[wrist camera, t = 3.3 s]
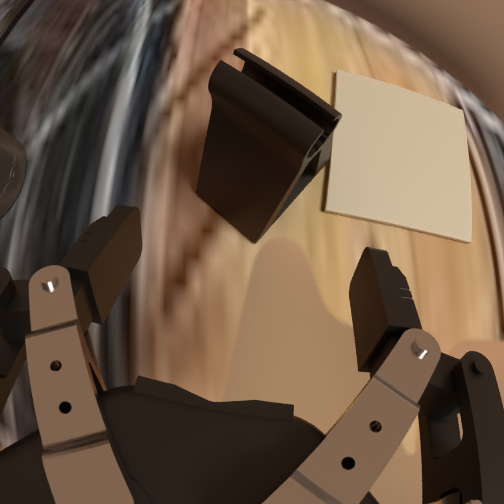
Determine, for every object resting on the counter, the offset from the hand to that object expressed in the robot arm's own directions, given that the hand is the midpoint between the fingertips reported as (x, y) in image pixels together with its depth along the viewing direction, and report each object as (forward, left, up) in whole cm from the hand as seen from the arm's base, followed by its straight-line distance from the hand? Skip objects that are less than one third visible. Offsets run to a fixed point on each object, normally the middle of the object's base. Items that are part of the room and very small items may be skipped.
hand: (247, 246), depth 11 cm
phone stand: (0, +8, -13) cm, 15 cm away
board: (+12, +13, -13) cm, 22 cm away
